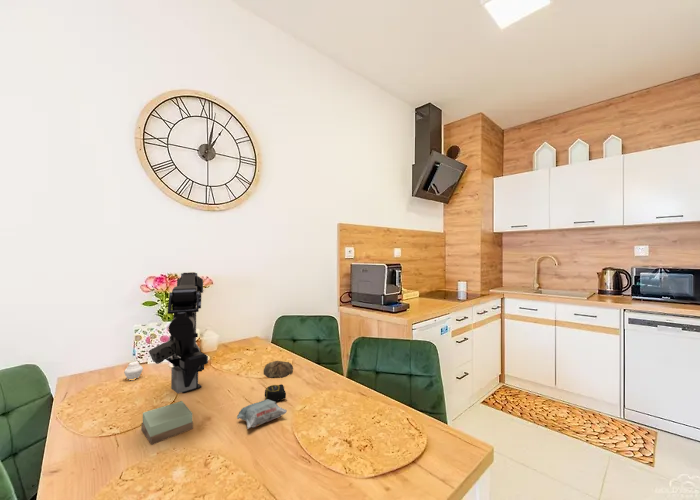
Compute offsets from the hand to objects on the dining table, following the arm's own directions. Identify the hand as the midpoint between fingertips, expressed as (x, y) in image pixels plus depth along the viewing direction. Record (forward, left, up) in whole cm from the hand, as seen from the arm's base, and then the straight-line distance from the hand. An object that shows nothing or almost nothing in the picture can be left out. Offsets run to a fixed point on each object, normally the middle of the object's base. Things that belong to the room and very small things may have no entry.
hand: (183, 384), depth 87 cm
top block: (0, -4, -9) cm, 10 cm away
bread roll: (-13, +41, -12) cm, 45 cm away
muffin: (-50, -2, -11) cm, 52 cm away
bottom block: (0, -4, -12) cm, 12 cm away
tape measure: (+6, +28, -12) cm, 31 cm away
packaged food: (+16, +16, -12) cm, 25 cm away
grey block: (0, 0, -1) cm, 1 cm away
